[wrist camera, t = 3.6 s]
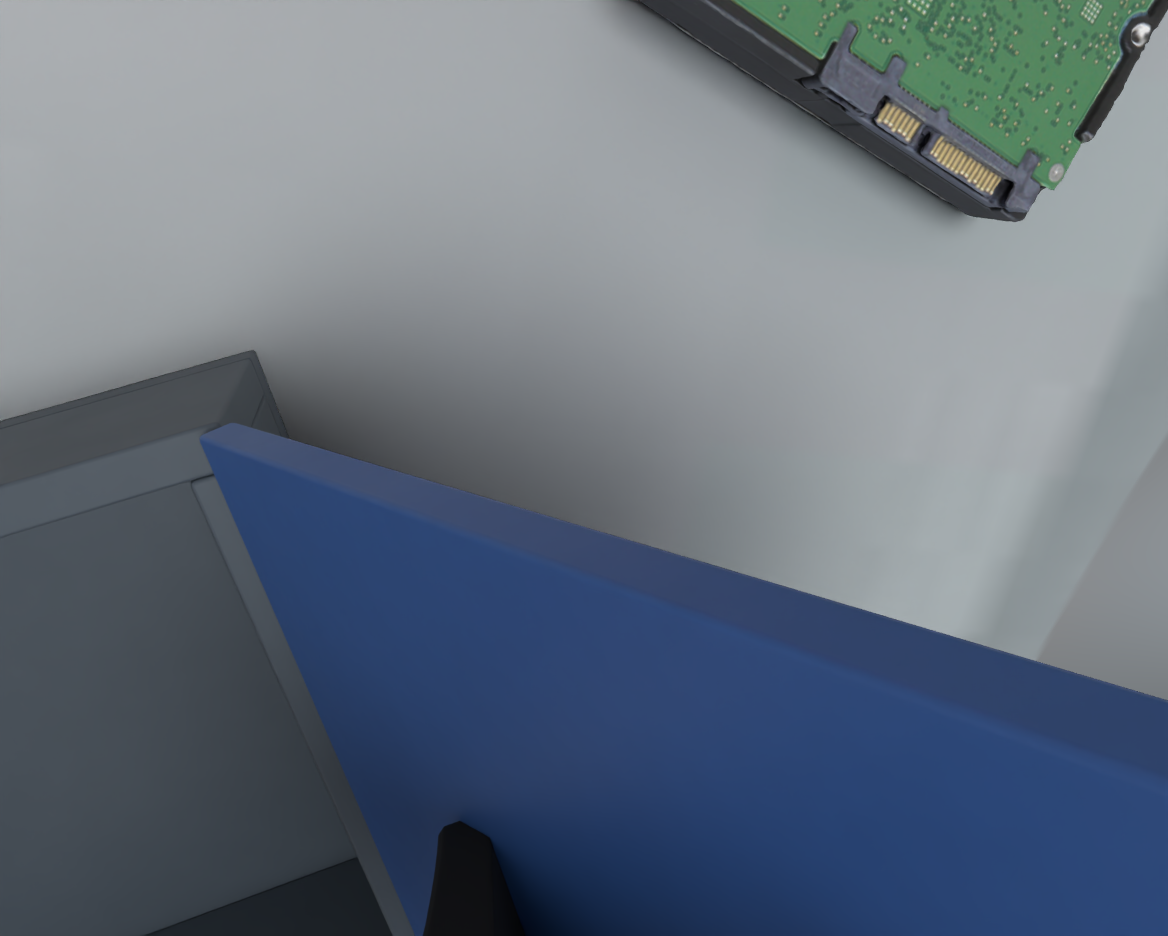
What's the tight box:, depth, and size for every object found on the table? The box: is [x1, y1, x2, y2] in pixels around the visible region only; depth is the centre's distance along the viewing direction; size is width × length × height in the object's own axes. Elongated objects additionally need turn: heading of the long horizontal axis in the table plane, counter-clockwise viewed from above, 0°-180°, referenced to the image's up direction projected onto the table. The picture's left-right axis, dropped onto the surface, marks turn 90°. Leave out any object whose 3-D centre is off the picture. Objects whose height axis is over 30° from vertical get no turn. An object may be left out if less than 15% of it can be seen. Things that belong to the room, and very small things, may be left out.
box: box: [0, 350, 415, 936], centre depth 18 cm, size 13×14×5 cm
